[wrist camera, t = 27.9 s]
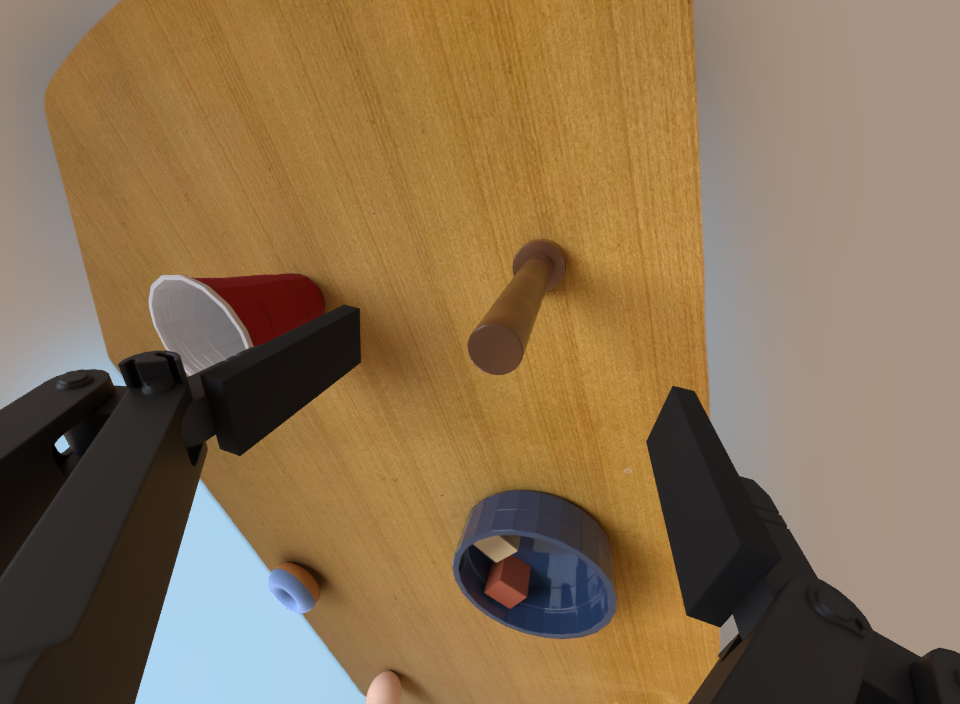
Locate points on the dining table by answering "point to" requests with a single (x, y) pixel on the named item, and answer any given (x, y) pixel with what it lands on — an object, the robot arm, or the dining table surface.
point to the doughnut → (294, 587)
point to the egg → (384, 689)
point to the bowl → (542, 564)
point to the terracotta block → (508, 581)
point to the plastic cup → (228, 313)
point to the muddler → (516, 308)
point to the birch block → (499, 546)
